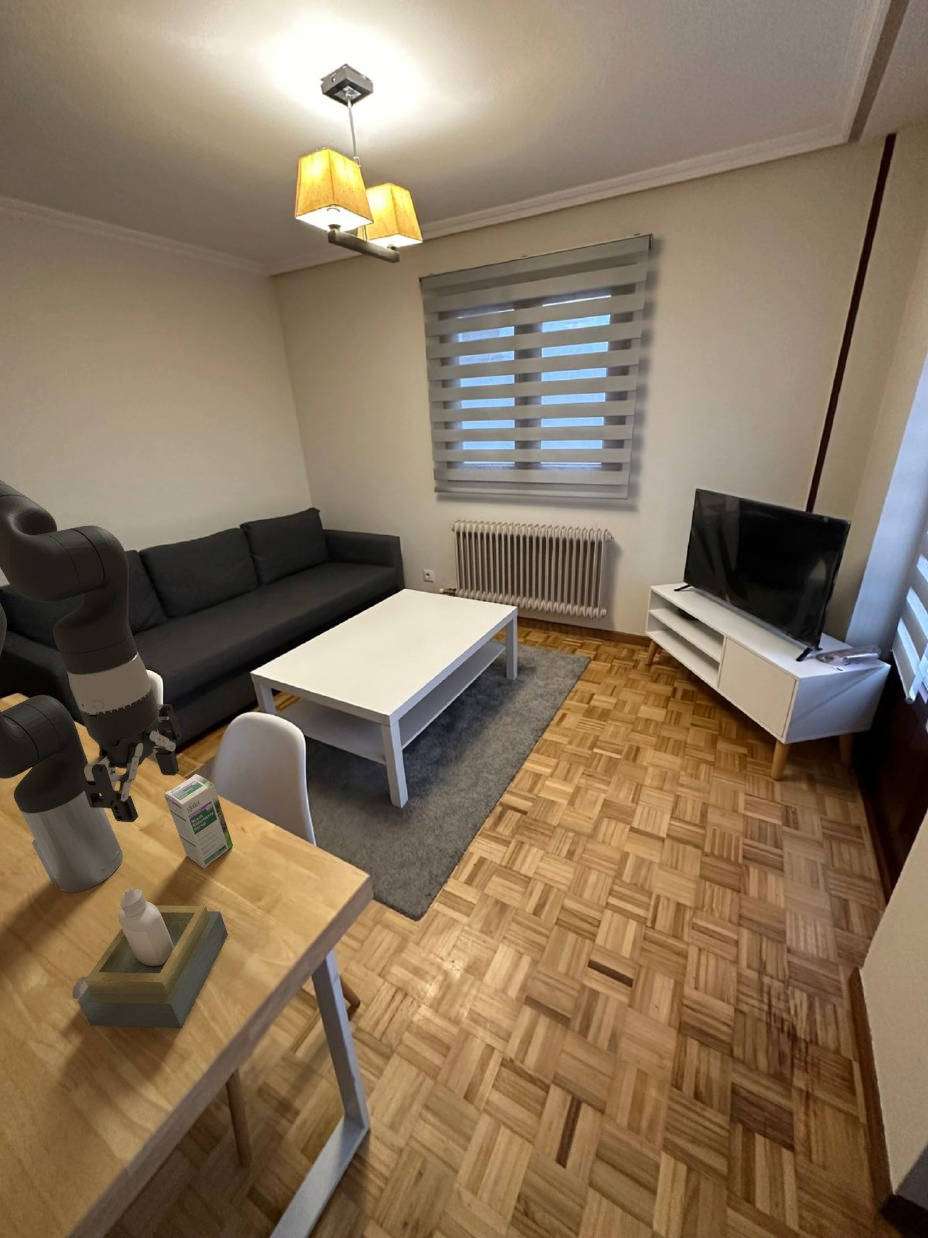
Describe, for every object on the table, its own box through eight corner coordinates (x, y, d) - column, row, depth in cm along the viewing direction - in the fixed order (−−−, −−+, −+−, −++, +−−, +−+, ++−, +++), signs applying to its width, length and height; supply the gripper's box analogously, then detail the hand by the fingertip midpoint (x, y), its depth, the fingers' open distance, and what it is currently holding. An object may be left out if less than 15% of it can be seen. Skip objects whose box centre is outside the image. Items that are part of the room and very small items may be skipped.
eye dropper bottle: (139, 980, 62) (110, 917, 57) (132, 947, 66) (104, 885, 61) (177, 957, 64) (152, 894, 60) (168, 926, 68) (143, 865, 64)
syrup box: (204, 870, 83) (182, 805, 77) (185, 855, 86) (162, 792, 80) (233, 846, 87) (215, 783, 81) (214, 833, 90) (195, 772, 84)
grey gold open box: (68, 1025, 62) (47, 988, 59) (131, 933, 73) (116, 898, 70) (181, 1028, 61) (165, 991, 58) (228, 934, 72) (216, 899, 69)
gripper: (126, 664, 65) (158, 760, 72) (34, 727, 52) (83, 837, 59) (179, 665, 65) (206, 761, 71) (99, 728, 52) (141, 839, 58)
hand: (151, 795), depth 65 cm, fingers open, 8 cm apart
